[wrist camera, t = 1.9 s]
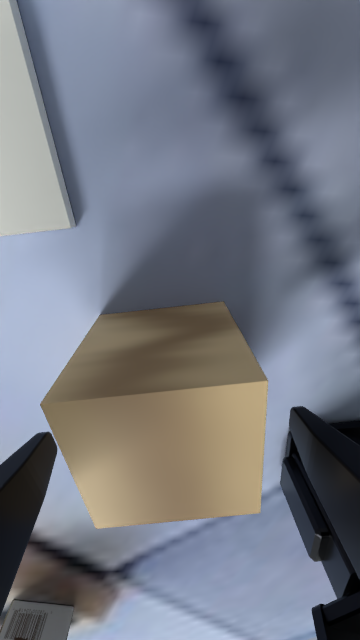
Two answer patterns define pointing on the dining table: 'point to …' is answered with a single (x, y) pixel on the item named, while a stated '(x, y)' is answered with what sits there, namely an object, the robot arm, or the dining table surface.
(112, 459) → the wood cube
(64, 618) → the coffee box
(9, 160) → the cream pad
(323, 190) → the dining table surface
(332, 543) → the robot arm
